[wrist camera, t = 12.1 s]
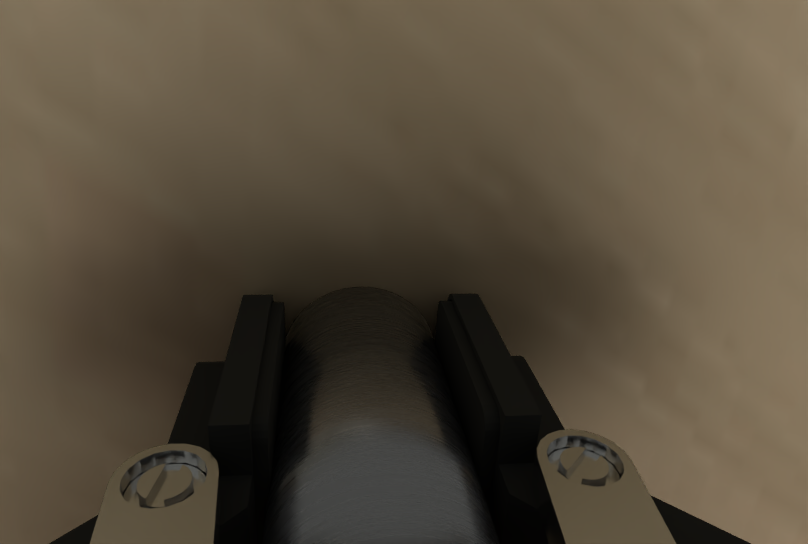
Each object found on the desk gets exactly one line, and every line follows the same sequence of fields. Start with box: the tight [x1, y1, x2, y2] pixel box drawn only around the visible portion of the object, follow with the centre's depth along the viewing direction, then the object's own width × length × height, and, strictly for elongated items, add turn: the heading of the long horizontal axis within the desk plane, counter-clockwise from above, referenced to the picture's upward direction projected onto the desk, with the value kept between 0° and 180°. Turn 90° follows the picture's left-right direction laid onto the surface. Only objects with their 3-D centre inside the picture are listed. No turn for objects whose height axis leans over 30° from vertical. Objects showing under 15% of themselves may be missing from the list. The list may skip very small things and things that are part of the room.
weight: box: [262, 287, 500, 544], centre depth 10 cm, size 3×3×6 cm
